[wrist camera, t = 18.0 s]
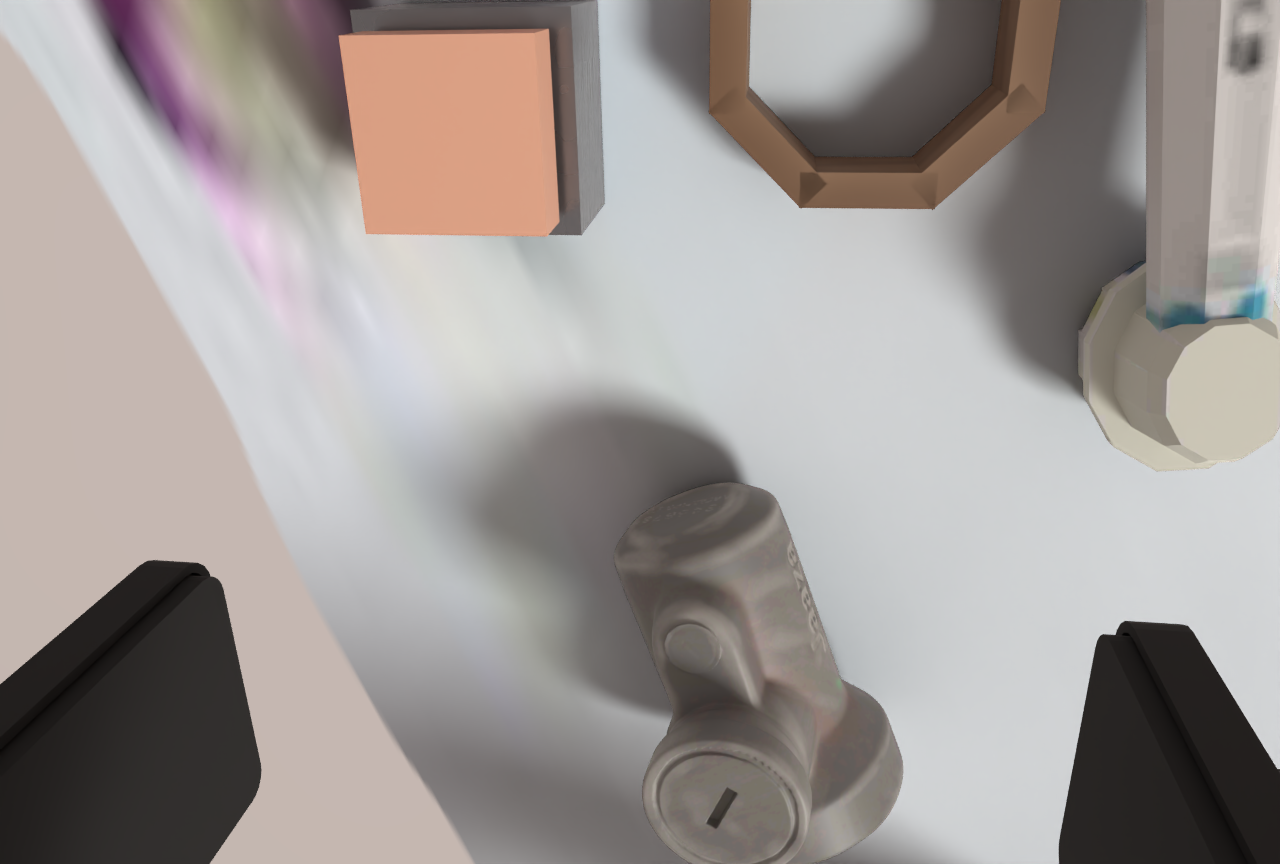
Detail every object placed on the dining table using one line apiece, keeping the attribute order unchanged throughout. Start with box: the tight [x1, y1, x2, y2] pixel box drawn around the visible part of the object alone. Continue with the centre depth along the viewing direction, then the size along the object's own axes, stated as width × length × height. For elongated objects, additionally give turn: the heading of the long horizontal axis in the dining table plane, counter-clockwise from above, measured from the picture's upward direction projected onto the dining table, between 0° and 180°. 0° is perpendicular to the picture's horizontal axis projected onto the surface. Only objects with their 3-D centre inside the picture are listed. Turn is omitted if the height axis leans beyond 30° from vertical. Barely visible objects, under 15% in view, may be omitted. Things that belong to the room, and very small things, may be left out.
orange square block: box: [339, 29, 559, 236], centre depth 28 cm, size 5×5×5 cm
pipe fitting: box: [614, 483, 903, 864], centre depth 34 cm, size 12×8×10 cm
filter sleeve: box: [709, 0, 1061, 210], centre depth 28 cm, size 9×9×2 cm
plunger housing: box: [350, 0, 605, 235], centre depth 29 cm, size 6×6×4 cm
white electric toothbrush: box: [1078, 0, 1280, 471], centre depth 26 cm, size 5×7×25 cm
